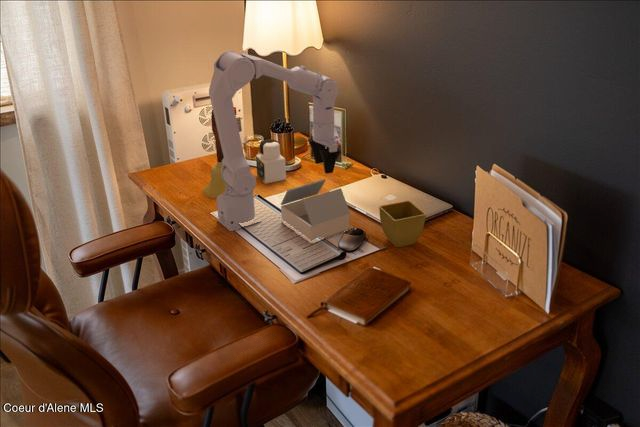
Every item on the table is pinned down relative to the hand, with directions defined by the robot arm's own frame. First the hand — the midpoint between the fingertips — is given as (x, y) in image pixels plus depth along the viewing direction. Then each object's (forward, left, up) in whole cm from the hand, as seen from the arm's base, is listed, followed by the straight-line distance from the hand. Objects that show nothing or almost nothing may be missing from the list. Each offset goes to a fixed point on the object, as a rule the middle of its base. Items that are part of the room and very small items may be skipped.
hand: (324, 167), depth 166 cm
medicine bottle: (-4, +23, -10) cm, 25 cm away
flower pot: (+2, -31, -10) cm, 32 cm away
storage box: (-11, -12, -10) cm, 19 cm away
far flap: (-11, -7, -2) cm, 13 cm away
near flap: (-11, -17, -2) cm, 20 cm away
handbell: (-20, +24, -10) cm, 33 cm away
